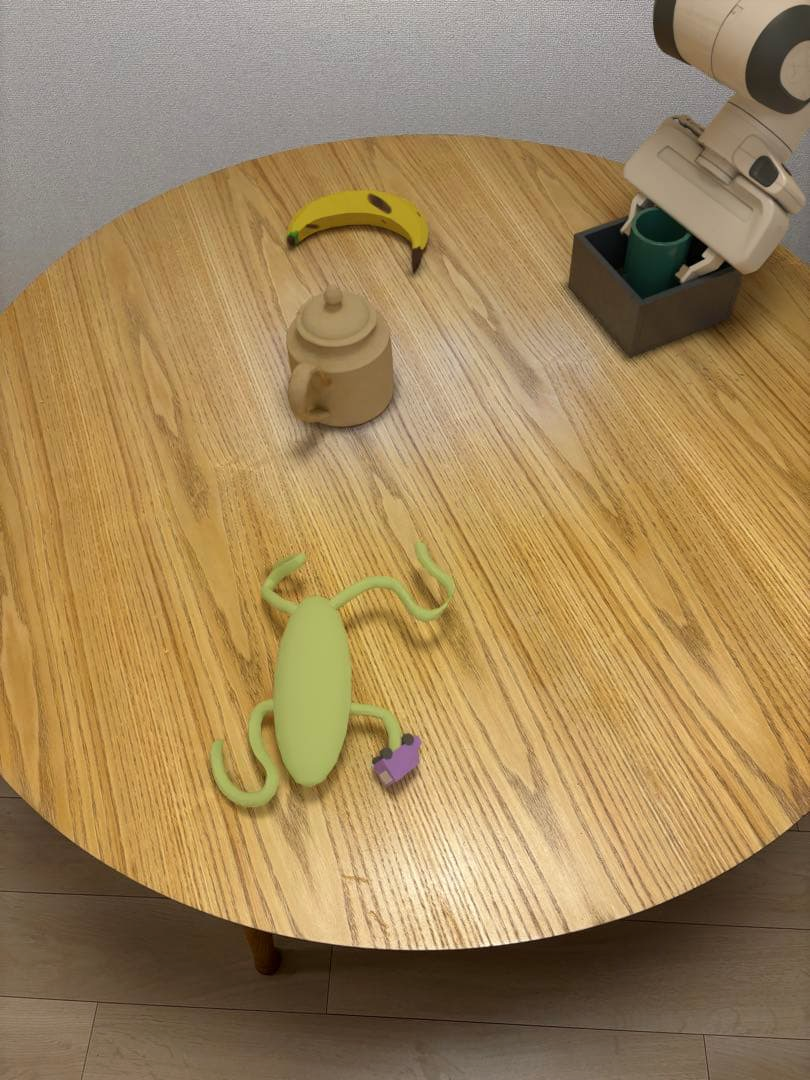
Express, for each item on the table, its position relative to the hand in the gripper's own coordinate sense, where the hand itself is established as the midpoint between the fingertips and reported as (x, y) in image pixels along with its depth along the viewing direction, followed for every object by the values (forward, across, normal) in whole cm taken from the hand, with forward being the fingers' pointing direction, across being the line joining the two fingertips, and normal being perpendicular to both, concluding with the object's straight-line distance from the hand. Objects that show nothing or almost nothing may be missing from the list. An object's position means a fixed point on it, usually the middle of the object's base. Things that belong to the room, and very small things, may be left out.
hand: (652, 259), depth 112 cm
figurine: (+43, +23, -33) cm, 59 cm away
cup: (+4, 0, +5) cm, 6 cm away
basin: (+4, 0, +5) cm, 7 cm away
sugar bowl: (+31, -6, -21) cm, 38 cm away
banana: (+21, -28, -11) cm, 37 cm away
